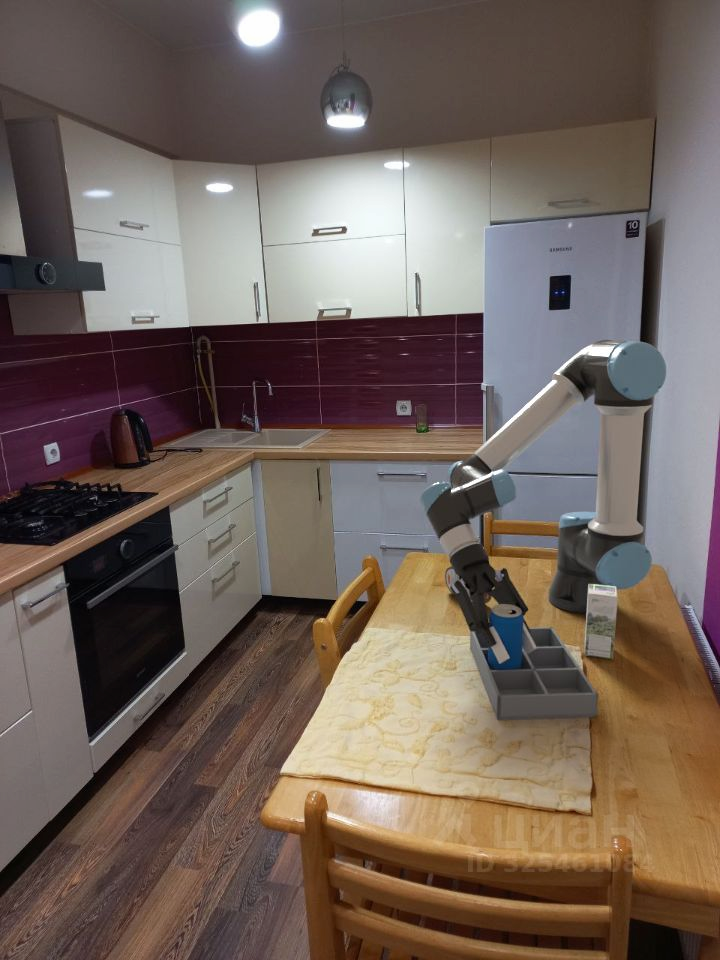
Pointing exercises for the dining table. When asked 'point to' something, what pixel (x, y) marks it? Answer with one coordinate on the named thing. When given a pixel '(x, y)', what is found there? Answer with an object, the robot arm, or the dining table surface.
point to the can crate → (537, 681)
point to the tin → (453, 577)
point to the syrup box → (600, 621)
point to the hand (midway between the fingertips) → (518, 655)
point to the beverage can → (507, 635)
